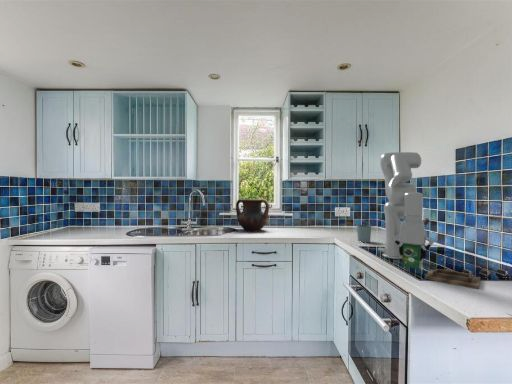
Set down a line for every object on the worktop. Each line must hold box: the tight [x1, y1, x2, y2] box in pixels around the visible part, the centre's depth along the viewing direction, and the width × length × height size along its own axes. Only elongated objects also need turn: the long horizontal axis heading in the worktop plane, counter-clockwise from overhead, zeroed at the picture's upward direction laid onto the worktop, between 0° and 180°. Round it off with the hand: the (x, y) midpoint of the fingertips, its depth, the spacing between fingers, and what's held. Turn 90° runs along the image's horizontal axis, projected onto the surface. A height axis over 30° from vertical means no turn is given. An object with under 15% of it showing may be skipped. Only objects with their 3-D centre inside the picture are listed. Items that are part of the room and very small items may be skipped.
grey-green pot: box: [356, 224, 372, 243], centre depth 205 cm, size 10×10×12 cm
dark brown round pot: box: [235, 198, 270, 233], centre depth 259 cm, size 32×28×30 cm
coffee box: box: [401, 243, 423, 271], centre depth 129 cm, size 8×3×13 cm, turn 35°
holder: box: [424, 268, 481, 290], centre depth 118 cm, size 18×14×3 cm
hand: (412, 256), depth 129 cm, fingers closed on coffee box, 8 cm apart
